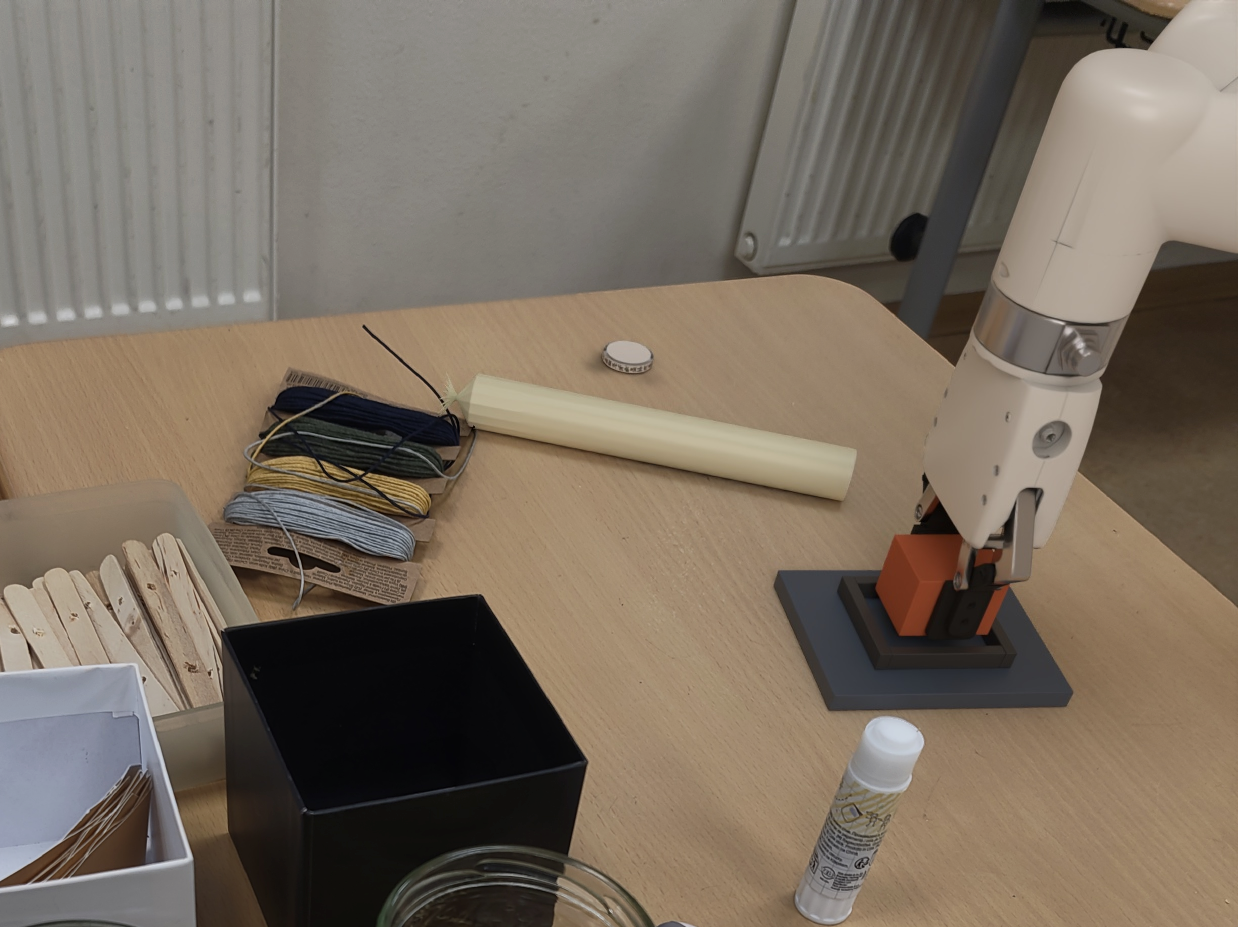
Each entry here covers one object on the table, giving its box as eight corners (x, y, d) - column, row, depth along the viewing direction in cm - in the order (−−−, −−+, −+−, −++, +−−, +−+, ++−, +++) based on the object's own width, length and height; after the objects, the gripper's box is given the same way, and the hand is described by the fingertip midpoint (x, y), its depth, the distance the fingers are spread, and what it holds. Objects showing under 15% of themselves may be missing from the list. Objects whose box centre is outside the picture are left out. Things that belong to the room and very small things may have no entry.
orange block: (960, 588, 95) (983, 534, 92) (987, 635, 92) (1012, 581, 89) (874, 588, 94) (894, 534, 91) (898, 636, 91) (920, 581, 88)
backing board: (993, 584, 100) (1007, 554, 98) (1066, 707, 92) (1082, 676, 90) (773, 585, 97) (782, 554, 96) (828, 711, 90) (840, 679, 88)
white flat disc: (598, 366, 113) (599, 358, 113) (607, 343, 116) (608, 335, 115) (648, 377, 113) (649, 369, 113) (655, 353, 115) (657, 345, 115)
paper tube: (444, 406, 108) (449, 357, 105) (842, 485, 106) (858, 438, 103) (434, 430, 105) (438, 381, 103) (840, 512, 104) (856, 464, 101)
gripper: (1179, 409, 74) (1036, 693, 88) (1051, 254, 84) (943, 531, 98) (1042, 407, 73) (921, 695, 87) (930, 250, 83) (838, 531, 97)
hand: (933, 606), depth 92 cm, fingers closed on orange block, 5 cm apart
